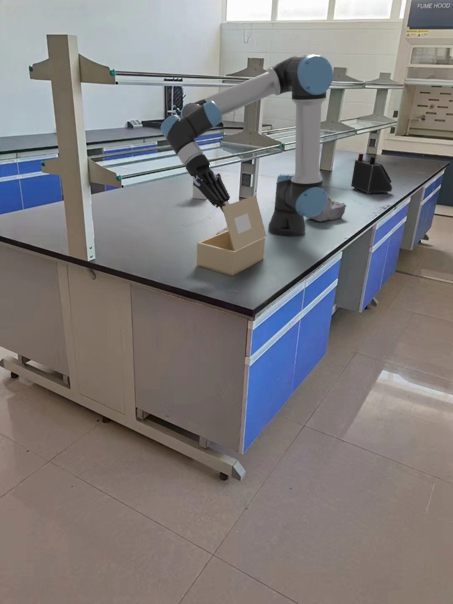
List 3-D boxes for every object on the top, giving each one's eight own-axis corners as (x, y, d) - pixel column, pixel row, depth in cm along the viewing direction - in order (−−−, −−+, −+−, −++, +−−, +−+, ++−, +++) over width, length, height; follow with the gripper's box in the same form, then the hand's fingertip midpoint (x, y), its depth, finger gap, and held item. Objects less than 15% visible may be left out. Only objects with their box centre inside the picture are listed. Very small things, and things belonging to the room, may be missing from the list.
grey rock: (302, 194, 214) (325, 189, 228) (300, 218, 219) (322, 212, 233) (329, 200, 207) (350, 194, 221) (325, 225, 211) (347, 218, 225)
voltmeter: (391, 193, 276) (398, 157, 268) (367, 195, 270) (373, 158, 262) (373, 187, 290) (379, 153, 281) (350, 188, 284) (356, 153, 275)
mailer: (229, 250, 176) (230, 229, 172) (263, 259, 169) (265, 237, 165) (196, 265, 160) (197, 242, 157) (232, 276, 154) (233, 252, 150)
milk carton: (206, 199, 242) (207, 160, 234) (192, 198, 244) (193, 159, 235) (209, 196, 249) (210, 158, 241) (196, 195, 250) (197, 157, 242)
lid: (254, 195, 162) (256, 195, 162) (265, 236, 165) (266, 236, 165) (221, 206, 147) (223, 206, 147) (234, 251, 150) (235, 251, 150)
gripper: (199, 165, 166) (237, 222, 165) (175, 170, 156) (216, 231, 155) (212, 150, 161) (252, 209, 160) (188, 155, 151) (230, 218, 150)
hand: (234, 220), depth 157 cm, fingers closed
